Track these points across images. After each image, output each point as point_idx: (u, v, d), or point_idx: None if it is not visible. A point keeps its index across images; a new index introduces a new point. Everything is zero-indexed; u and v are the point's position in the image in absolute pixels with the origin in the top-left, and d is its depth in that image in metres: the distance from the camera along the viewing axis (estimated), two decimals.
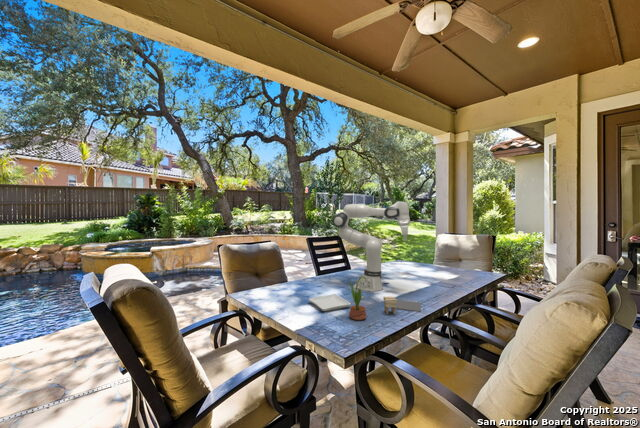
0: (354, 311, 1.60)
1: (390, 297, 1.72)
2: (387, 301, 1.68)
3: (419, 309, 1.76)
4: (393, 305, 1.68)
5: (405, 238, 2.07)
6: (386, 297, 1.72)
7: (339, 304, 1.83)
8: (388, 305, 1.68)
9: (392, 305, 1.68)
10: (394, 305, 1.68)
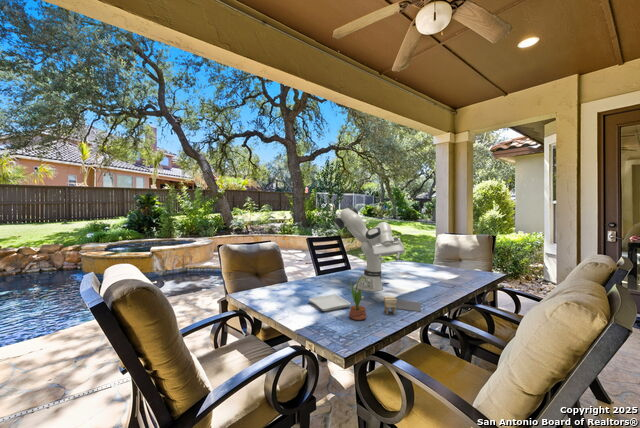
0: (354, 311, 1.60)
1: (390, 297, 1.72)
2: (387, 301, 1.68)
3: (419, 309, 1.76)
4: (393, 305, 1.68)
5: None
6: (386, 297, 1.72)
7: (339, 304, 1.83)
8: (388, 305, 1.68)
9: (392, 305, 1.68)
10: (394, 305, 1.68)
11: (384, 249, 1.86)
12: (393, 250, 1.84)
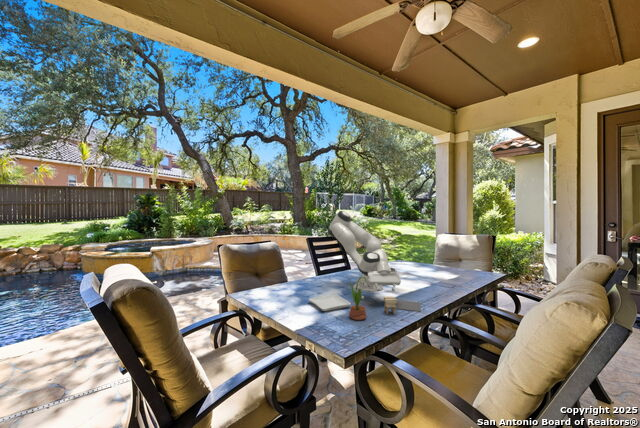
0: (354, 311, 1.60)
1: (390, 297, 1.72)
2: (387, 301, 1.68)
3: (419, 309, 1.76)
4: (393, 305, 1.68)
5: (394, 287, 1.80)
6: (386, 297, 1.72)
7: (339, 304, 1.83)
8: (388, 305, 1.68)
9: (392, 305, 1.68)
10: (394, 305, 1.68)
11: (380, 278, 1.82)
12: (389, 280, 1.81)
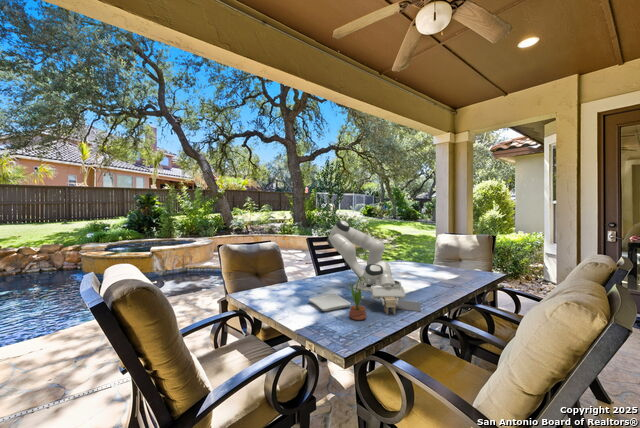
0: (354, 311, 1.60)
1: (390, 297, 1.72)
2: (387, 301, 1.68)
3: (419, 309, 1.76)
4: (393, 305, 1.68)
5: (397, 301, 1.72)
6: (386, 297, 1.72)
7: (339, 304, 1.83)
8: (388, 305, 1.68)
9: (392, 305, 1.68)
10: (394, 305, 1.68)
11: (384, 292, 1.74)
12: (393, 294, 1.73)
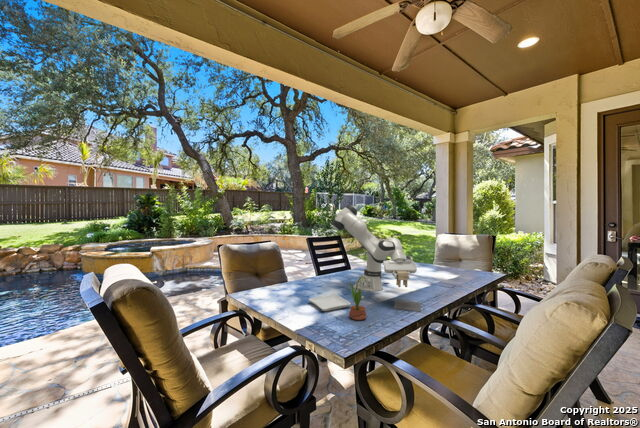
0: (354, 311, 1.60)
1: (402, 271, 1.80)
2: (399, 274, 1.75)
3: (419, 309, 1.76)
4: (405, 278, 1.76)
5: None
6: (398, 271, 1.80)
7: (339, 304, 1.83)
8: (400, 278, 1.76)
9: (404, 278, 1.76)
10: (406, 278, 1.76)
11: (396, 266, 1.82)
12: (405, 268, 1.81)
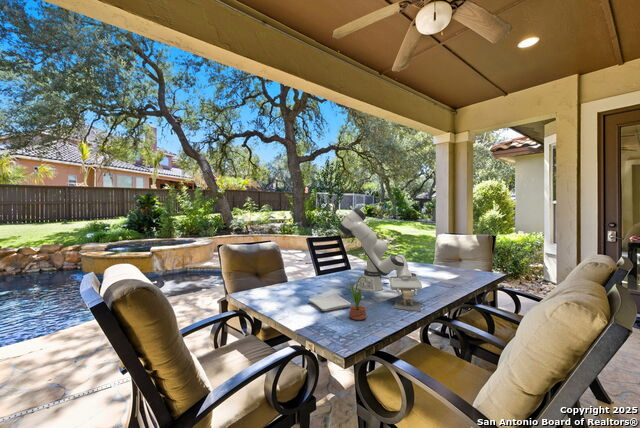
0: (354, 311, 1.60)
1: (407, 290, 1.85)
2: (405, 294, 1.81)
3: (419, 309, 1.76)
4: (410, 297, 1.81)
5: None
6: (403, 290, 1.85)
7: (339, 304, 1.83)
8: (406, 297, 1.81)
9: (409, 297, 1.81)
10: (411, 297, 1.81)
11: (402, 283, 1.86)
12: (411, 286, 1.85)
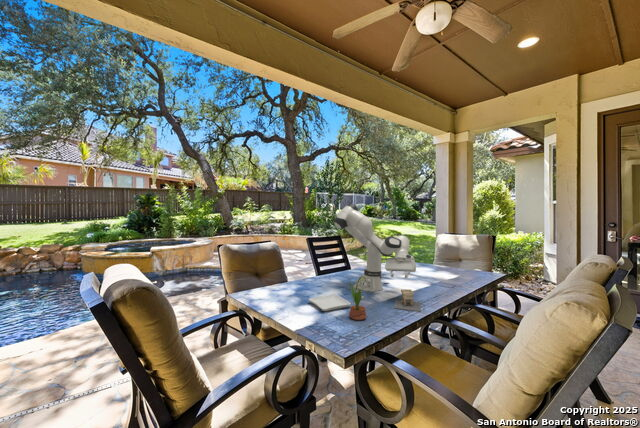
0: (354, 311, 1.60)
1: (407, 290, 1.85)
2: (405, 294, 1.81)
3: (419, 309, 1.76)
4: (410, 297, 1.81)
5: (408, 274, 1.84)
6: (403, 290, 1.85)
7: (339, 304, 1.83)
8: (406, 297, 1.81)
9: (409, 297, 1.81)
10: (411, 297, 1.81)
11: (395, 265, 1.90)
12: (403, 267, 1.86)
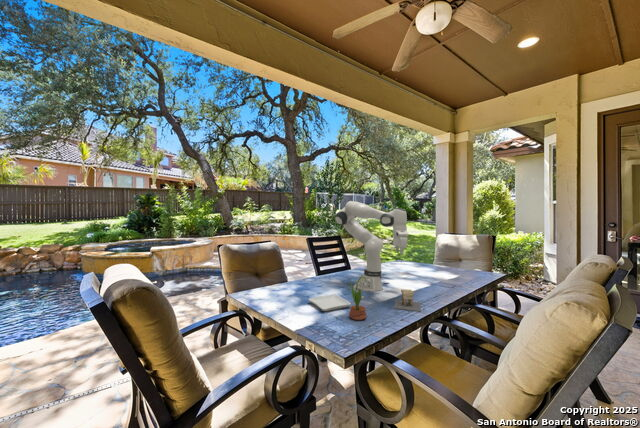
0: (354, 311, 1.60)
1: (407, 290, 1.85)
2: (405, 294, 1.81)
3: (419, 309, 1.76)
4: (410, 297, 1.81)
5: (402, 251, 1.84)
6: (403, 290, 1.85)
7: (339, 304, 1.83)
8: (406, 297, 1.81)
9: (409, 297, 1.81)
10: (411, 297, 1.81)
11: (395, 241, 1.92)
12: (398, 245, 1.87)
